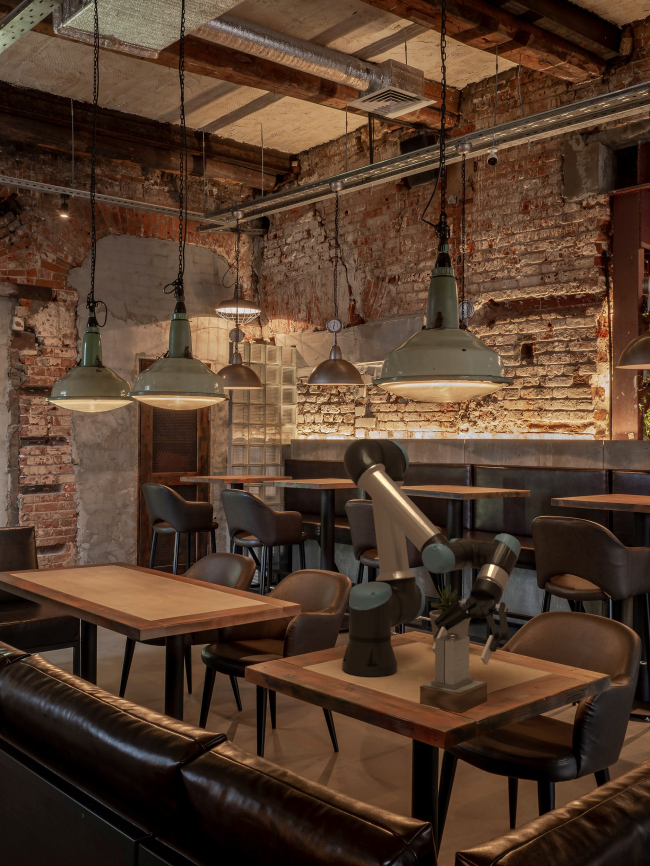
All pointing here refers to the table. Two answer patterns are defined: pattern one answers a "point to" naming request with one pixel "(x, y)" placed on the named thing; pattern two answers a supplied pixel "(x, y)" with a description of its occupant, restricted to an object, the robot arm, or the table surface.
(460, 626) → the potted plant
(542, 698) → the table surface
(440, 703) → the stand
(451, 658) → the housing
